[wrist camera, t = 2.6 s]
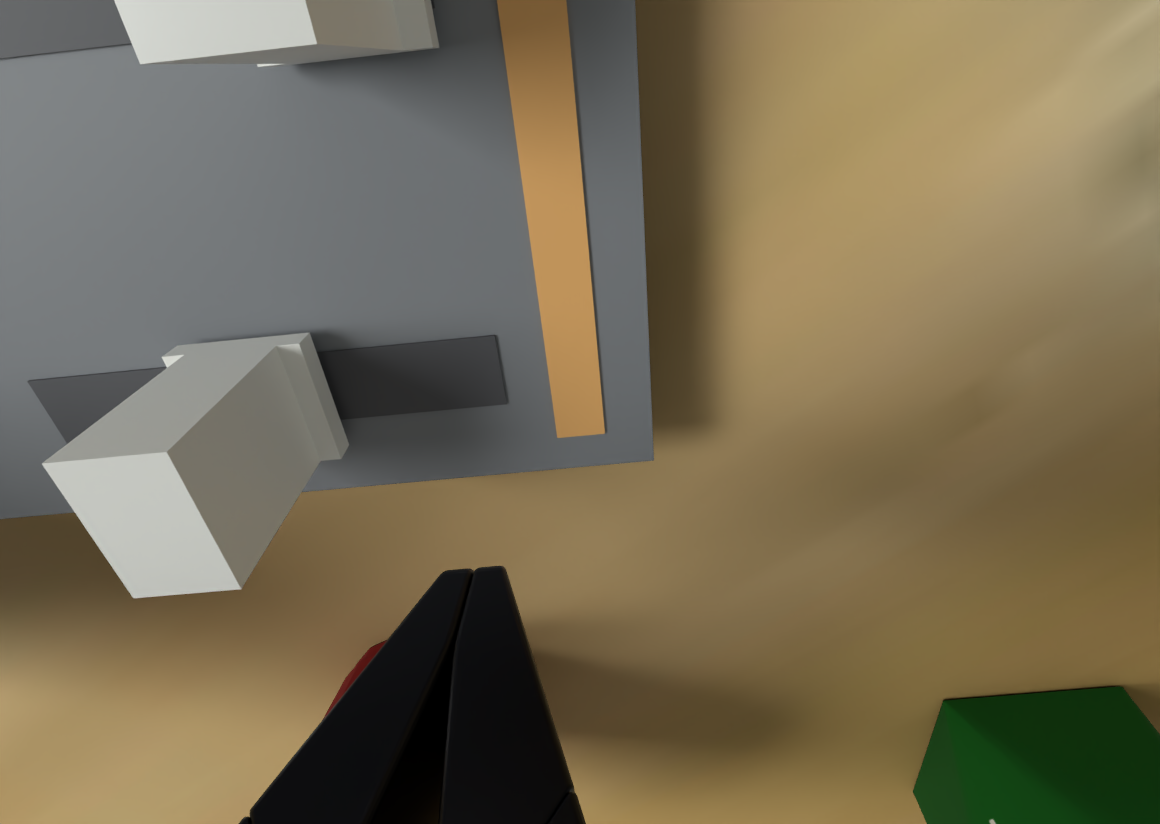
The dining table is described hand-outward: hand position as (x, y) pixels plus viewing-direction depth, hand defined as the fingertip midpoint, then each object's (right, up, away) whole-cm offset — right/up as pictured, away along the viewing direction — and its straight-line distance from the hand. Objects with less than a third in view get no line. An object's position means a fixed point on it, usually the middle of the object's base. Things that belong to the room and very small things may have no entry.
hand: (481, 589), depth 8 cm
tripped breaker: (-6, +3, +6) cm, 9 cm away
